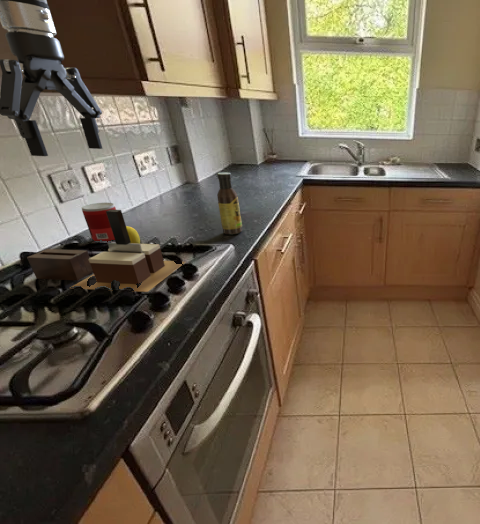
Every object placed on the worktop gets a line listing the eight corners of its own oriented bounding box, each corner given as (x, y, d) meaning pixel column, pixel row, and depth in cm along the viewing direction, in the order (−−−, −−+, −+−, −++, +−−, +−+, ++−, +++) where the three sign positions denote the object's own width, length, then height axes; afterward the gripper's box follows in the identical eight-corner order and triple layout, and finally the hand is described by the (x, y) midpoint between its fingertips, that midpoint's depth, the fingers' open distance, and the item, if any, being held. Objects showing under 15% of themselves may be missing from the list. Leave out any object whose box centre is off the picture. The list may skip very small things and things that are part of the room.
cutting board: (71, 293, 75) (69, 288, 74) (122, 263, 89) (120, 258, 89) (149, 297, 74) (147, 291, 74) (187, 266, 89) (186, 261, 88)
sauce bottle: (242, 234, 111) (233, 174, 103) (222, 236, 110) (212, 175, 101) (242, 228, 117) (234, 171, 108) (223, 230, 115) (213, 171, 107)
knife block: (39, 284, 78) (26, 257, 75) (57, 274, 83) (47, 248, 80) (80, 286, 78) (69, 259, 75) (96, 276, 83) (87, 250, 80)
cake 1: (96, 282, 77) (88, 259, 74) (110, 274, 81) (103, 251, 78) (138, 284, 76) (131, 261, 74) (150, 275, 80) (144, 253, 78)
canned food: (129, 238, 106) (119, 204, 101) (100, 246, 99) (88, 210, 95) (117, 233, 109) (106, 201, 104) (88, 241, 103) (76, 206, 98)
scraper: (115, 274, 81) (94, 210, 74) (120, 271, 82) (99, 208, 75) (146, 275, 80) (127, 212, 74) (150, 272, 82) (132, 210, 75)
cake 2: (115, 271, 82) (107, 249, 79) (127, 264, 86) (120, 242, 83) (154, 273, 82) (148, 251, 79) (165, 265, 86) (159, 244, 83)
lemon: (115, 254, 95) (106, 227, 91) (132, 246, 100) (124, 221, 96) (131, 256, 94) (123, 229, 90) (147, 249, 98) (140, 223, 95)
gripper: (-25, 18, 51) (29, 160, 60) (103, 46, 74) (128, 146, 83) (-71, 16, 51) (-10, 158, 60) (70, 45, 74) (99, 145, 83)
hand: (70, 152), depth 71 cm, fingers open, 13 cm apart
